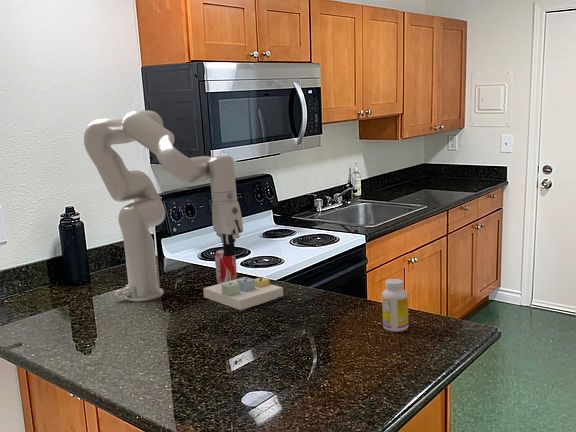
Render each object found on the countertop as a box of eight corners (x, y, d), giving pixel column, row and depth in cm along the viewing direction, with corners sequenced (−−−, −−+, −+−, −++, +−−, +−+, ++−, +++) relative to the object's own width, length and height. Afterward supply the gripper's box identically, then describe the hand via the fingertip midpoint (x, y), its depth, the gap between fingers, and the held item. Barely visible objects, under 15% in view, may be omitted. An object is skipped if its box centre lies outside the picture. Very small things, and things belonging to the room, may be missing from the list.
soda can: (234, 287, 201) (231, 253, 199) (214, 287, 202) (211, 253, 200) (239, 281, 207) (237, 248, 205) (220, 281, 209) (218, 248, 207)
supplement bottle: (410, 324, 157) (409, 278, 155) (406, 333, 151) (405, 285, 149) (385, 322, 160) (383, 277, 157) (380, 331, 154) (379, 284, 151)
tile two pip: (245, 294, 185) (244, 281, 184) (237, 292, 188) (236, 279, 187) (255, 291, 187) (254, 279, 187) (247, 289, 190) (246, 276, 190)
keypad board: (240, 310, 177) (239, 300, 176) (204, 297, 192) (203, 288, 191) (283, 296, 187) (282, 287, 187) (245, 285, 202) (245, 276, 202)
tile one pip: (229, 299, 181) (228, 286, 180) (222, 296, 184) (221, 283, 183) (240, 296, 184) (239, 283, 183) (232, 293, 187) (231, 281, 186)
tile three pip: (260, 293, 189) (259, 281, 188) (252, 291, 192) (252, 279, 191) (270, 291, 192) (269, 278, 191) (262, 288, 195) (261, 276, 194)
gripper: (249, 196, 175) (254, 256, 178) (220, 194, 186) (225, 250, 189) (228, 200, 170) (233, 261, 173) (200, 197, 182) (206, 255, 185)
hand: (229, 255), depth 181 cm, fingers closed
